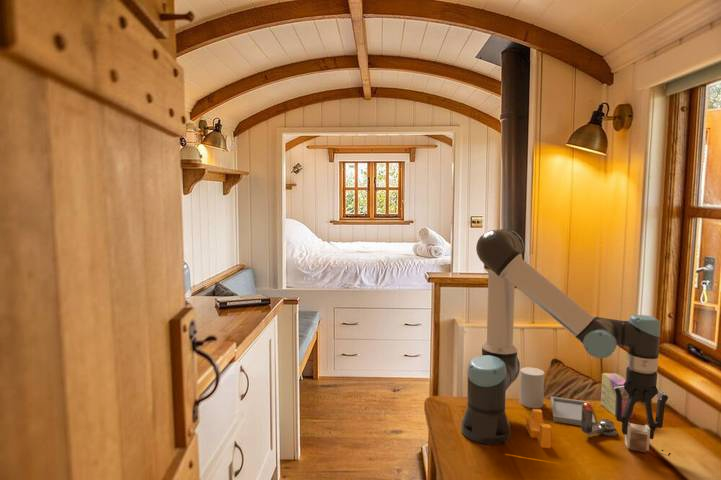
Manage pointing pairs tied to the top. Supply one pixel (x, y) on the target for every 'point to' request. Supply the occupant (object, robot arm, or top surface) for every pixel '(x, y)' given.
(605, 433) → the crank base
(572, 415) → the tray
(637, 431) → the stop block
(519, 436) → the top surface
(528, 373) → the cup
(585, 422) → the crank
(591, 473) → the top surface
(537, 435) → the orange stepped block
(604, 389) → the box
